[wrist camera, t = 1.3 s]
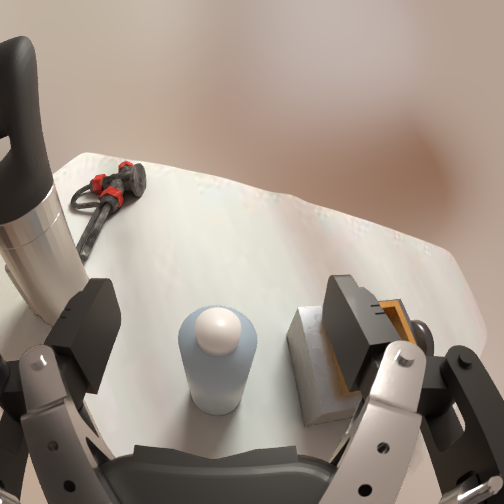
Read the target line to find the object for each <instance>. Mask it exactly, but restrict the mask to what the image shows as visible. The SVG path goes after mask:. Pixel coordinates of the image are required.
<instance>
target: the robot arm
mask: <svg viewBox="0 0 504 504" xmlns="http://www.w3.org/2000/svg"><path fill="white" fill-rule="evenodd" d="M6 136H9V138H10V144H11V149H10V151H9V152H8V154H7V155H6V156H5V157H4V158H3V160H2V161H1V162H0V254H1V256H2V257H3V259H4V261H5V263H6V265H5V271H6V273H7V274H8V276H9V277H10V279H11V281H12V282H13V284H14V285H15V287H16V288H17V290H18V291H19V293H20V294H21V296H22V297H23V299H24V300H25V302H26V303H27V304H28V306H29V307H30V309H31V310H32V311H33V313H34V314H35V315H39V316H41V318H42V319H43V320H44V321H45V322H46V323H48V324H49V325H52V326H53V328H52V330H51V331H50V333H49V335H48V337H47V339H46V340H45V342H44V344H43V345H36V346H33V347H31V348H29V349H28V350H27V351H26V352H25V353H24V354H23V355H22V357H21V359H20V360H18V361H9V362H5V361H4V359H3V358H2V356H1V355H0V407H1V408H2V409H3V410H4V412H3V415H2V418H1V420H0V504H21V503H20V496H21V489H22V482H23V477H24V472H25V467H26V463H27V458H28V454H30V457H31V460H32V463H33V466H34V469H35V471H36V474H37V477H38V480H39V483H40V485H41V488H42V490H43V492H44V495H45V497H46V500H47V502H48V504H394V503H395V501H396V499H397V496H398V494H399V491H400V489H401V486H402V483H403V481H404V478H405V475H406V472H407V469H408V466H409V463H410V460H411V457H412V454H413V451H414V447H415V444H416V440H417V436H418V433H419V429H420V430H421V432H422V435H423V438H424V441H425V444H426V446H427V449H428V452H429V455H430V458H431V461H432V464H433V467H434V470H435V473H436V477H437V480H438V483H439V486H440V490H441V493H442V498H441V499H440V501H439V503H438V504H504V400H503V399H502V397H501V395H500V393H499V391H498V390H497V388H496V386H495V384H494V383H493V381H492V379H491V377H490V376H489V374H488V372H487V371H486V369H485V367H484V366H483V364H482V363H481V361H480V359H479V358H478V356H477V355H476V354H475V353H474V352H473V351H472V350H471V349H469V348H467V347H465V346H461V345H457V346H453V347H451V348H450V349H449V350H448V352H447V354H446V355H445V357H438V356H425V354H424V353H423V351H422V350H421V349H420V348H419V347H418V346H417V345H415V344H413V343H411V342H408V341H402V339H401V338H400V336H399V334H398V333H397V331H396V329H395V328H394V326H393V324H392V323H391V321H390V320H389V318H388V316H387V315H386V314H385V312H384V310H383V309H382V307H381V306H380V304H379V302H378V301H377V299H376V298H375V296H374V295H373V294H372V293H370V292H369V291H368V290H367V289H365V288H364V287H358V285H357V283H356V282H355V280H354V279H353V277H352V276H351V275H331V276H330V277H329V280H328V284H327V289H326V294H325V299H324V304H323V309H322V319H323V324H324V327H325V329H326V332H327V335H328V337H329V340H330V342H331V345H332V348H333V350H334V353H335V356H336V358H337V361H338V364H339V367H340V369H341V372H342V375H343V377H344V380H345V383H346V386H347V389H348V391H349V392H354V391H359V390H360V392H361V394H362V398H361V399H360V401H359V404H358V406H357V408H356V410H355V413H354V415H353V417H352V419H351V421H350V424H349V426H348V428H347V430H346V432H345V434H344V436H343V438H342V440H341V442H340V444H339V445H338V447H337V449H336V450H335V452H334V454H333V455H332V457H331V459H330V461H329V462H326V461H323V460H321V459H318V458H314V457H310V456H305V455H297V450H296V446H288V447H279V448H268V449H255V450H252V451H248V452H244V453H240V454H237V455H233V456H229V457H224V458H220V459H208V458H203V457H199V456H196V455H192V454H188V453H185V452H181V451H178V450H174V449H168V448H157V447H148V446H140V445H135V446H134V453H133V454H129V455H125V456H121V457H117V458H115V456H114V455H113V454H112V452H111V451H110V449H109V448H108V447H107V445H106V444H105V442H104V440H103V438H102V436H101V434H100V432H99V430H98V428H97V426H96V424H95V422H94V420H93V418H92V415H91V413H90V411H89V409H88V407H87V404H86V402H85V401H84V396H85V393H91V394H97V393H98V390H99V387H100V384H101V380H102V377H103V374H104V371H105V368H106V365H107V362H108V359H109V356H110V354H111V351H112V348H113V345H114V342H115V340H116V337H117V334H118V331H119V329H120V326H121V312H120V308H119V305H118V302H117V298H116V295H115V291H114V288H113V284H112V281H111V280H110V279H108V278H91V279H90V280H89V278H88V276H87V274H86V271H85V269H84V266H83V264H82V262H81V259H80V257H79V254H78V252H77V249H76V246H75V244H74V241H73V239H72V236H71V233H70V230H69V228H68V225H67V222H66V219H65V216H64V213H63V210H62V207H61V204H60V201H59V197H58V194H57V191H56V187H55V184H54V180H53V176H52V173H51V169H50V165H49V161H48V157H47V152H46V148H45V143H44V138H43V132H42V126H41V118H40V109H39V95H38V76H37V63H36V54H35V50H34V47H33V45H32V42H31V41H30V39H29V38H27V37H25V36H19V37H15V38H12V39H9V40H7V41H4V42H2V43H0V139H1V138H3V137H6ZM455 402H456V404H457V406H458V408H459V410H460V412H461V414H462V417H463V419H464V421H465V431H463V429H462V426H461V424H460V422H459V420H458V417H457V415H456V413H455V411H454V408H453V406H452V405H453V404H454V403H455Z"/></svg>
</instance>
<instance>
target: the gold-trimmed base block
mask: <svg viewBox="0 0 504 504" xmlns="http://www.w3.org/2000/svg"><path fill="white" fill-rule="evenodd" d="M378 302H379V304H380V306H381V307H382V309H383V310H384V312H385V314H386V315H387V316H388V318H389V320H390V321H391V323H392V324H393V326H394V328H395V329H396V331H397V333H398V334H399V336H400V338H401V339H402V341H408V342H411V343H413V344H415V345H417V346H418V347H419V348H420V349H421V350H422V351H423V353H424V354H425V356H433V355H434V341H433V337H432V334H431V331H430V330H429V328H428V327H427V325H426V324H425V323H423V322H422V321H420V320H412V321H410V319H409V316H408V314H407V312H406V310H405V307H404V305H403V303H402V301H401V299H395V300H385V301H378ZM322 309H323V306H309V307H298V309H297V311H296V313H295V316H294V318H293V320H292V323H291V325H290V327H289V330H288V332H287V339H288V344H289V349H290V354H291V359H292V364H293V369H294V374H295V379H296V384H297V390H298V395H299V400H300V405H301V411H302V416H303V421H304V427H305V426H311V425H317V424H322V423H327V422H332V421H337V420H341V419H345V418H350V417H353V415H354V413H355V410H356V408H357V406H358V404H359V401H360V399H361V398H362V394H361V392H360V390H359V391H354V392H349V391H348V389H347V386H346V383H345V380H344V377H343V375H342V372H341V369H340V367H339V364H338V361H337V358H336V356H335V353H334V350H333V348H332V345H331V342H330V340H329V337H328V335H327V332H326V329H325V327H324V324H323V319H322Z"/></svg>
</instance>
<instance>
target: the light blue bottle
mask: <svg viewBox="0 0 504 504" xmlns="http://www.w3.org/2000/svg"><path fill="white" fill-rule="evenodd" d="M178 343H179V348H180V352H181V357H182V361H183V365H184V369H185V373H186V377H187V381H188V385H189V389H190V393H191V396H192V399H193V402H194V403H195V405H196V406H197V407H198V408H199V409H200V410H201V411H203V412H204V413H207V414H210V415H216V416H219V415H225V414H228V413H230V412H231V411H233V410H234V409H235V408H236V407H237V406H238V404H239V403H240V400H241V397H242V394H243V391H244V388H245V384H246V381H247V378H248V374H249V371H250V368H251V365H252V361H253V358H254V354H255V351H256V347H257V334H256V331H255V328H254V326H253V324H252V323H251V322H250V320H249V319H248V318H247V317H246V316H245V315H243V314H242V313H241V312H239V311H237V310H235V309H232V308H230V307H226V306H208V307H204V308H201V309H198V310H196V311H195V312H193V313H192V314H190V315H189V316H188V317H187V318H186V319H185V320H184V322H183V324H182V325H181V328H180V330H179V335H178Z"/></svg>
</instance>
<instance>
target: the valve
mask: <svg viewBox="0 0 504 504" xmlns="http://www.w3.org/2000/svg"><path fill="white" fill-rule="evenodd" d="M89 189H90V190H91V192H94V193H95V194H96V195H99V194H101V195H100V197H99V200H100V203H98V202H89V203H81V204H78V203H76V202H75V201H76V199H77V197H78V196H79V195H80V194H82V193H83V192H85V191H86V190H89ZM145 189H146V174H145V170H144V167H143V166H142V164H140V163H139V164H135V165H134V166H133V164H132V163H130V162H128V161H125V162H122V163H121V164H120V165H119V173H117V174H112V175H111V176H106V175H105V174H101V175H96V176H95V178H94V179H92V180H91V181H90V184H89V185H86V186H84V187H83V188H81V189H79V190H78V191H77V192H76V193H75V194H74V195H73V197H72V199H71V205H72V206H73V207H74V208H77V209H83V208H92V207H97V208H96V210H95V212H94V213H93V215H92V217H91V219H90V221H89V223H88V225H87V227H86V229H85V230H84V232H83V234H82V236H81V238H80V240H79V242H78V244H77V247H76V249H77V252H78V254H80V252H81V249H82V247H83V245H84V243H85V241H86V239H87V237H88V235H89V233H90V231H91V229H92V227H93V225H94V223H95V221H96V219H97V217H98V215H99V213H100V211H101V210H102V211H101V213H100V215H99V217H98V219H97V221H96V223H95V225H94V227H93V229H92V231H91V233H90V235H89V237H88V239H87V241H86V243H85V245H84V247H83V250H82V252H81V254H80V258H81V259H82V260H84V261H86V260H87V258H88V255H89V253H90V251H91V249H92V246H93V244H94V242H95V240H96V238H97V235H98V233H99V231H100V229H101V227H102V225H103V223H104V221H105V219H106V217H107V215H108V213H109V214H110V213H113V212H114V211H115V210H117V209H119V208H120V207H121V205H122V203H123V201H124V199H123V194H124V192H125V191H129V190H132V191H133V193H134V195H135V196H137V197H141V196H142V195H143V193H144V191H145Z"/></svg>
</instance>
